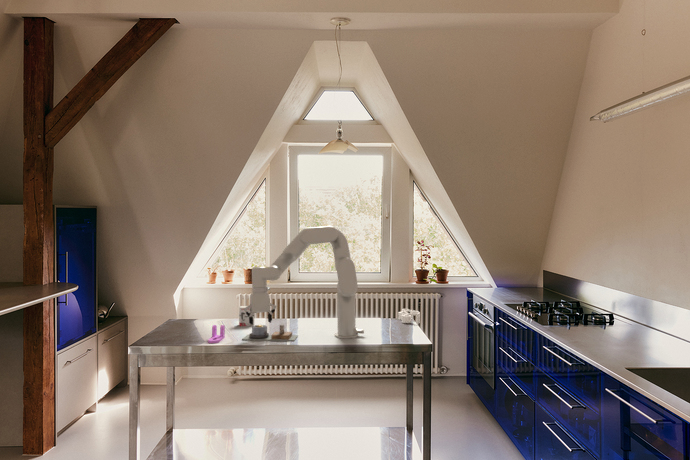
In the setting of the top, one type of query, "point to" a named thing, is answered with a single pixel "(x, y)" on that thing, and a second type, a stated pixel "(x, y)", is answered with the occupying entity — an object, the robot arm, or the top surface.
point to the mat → (271, 339)
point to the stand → (281, 334)
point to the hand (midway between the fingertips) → (260, 323)
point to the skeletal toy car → (408, 315)
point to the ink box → (244, 317)
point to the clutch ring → (259, 330)
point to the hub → (258, 336)
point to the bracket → (215, 337)
